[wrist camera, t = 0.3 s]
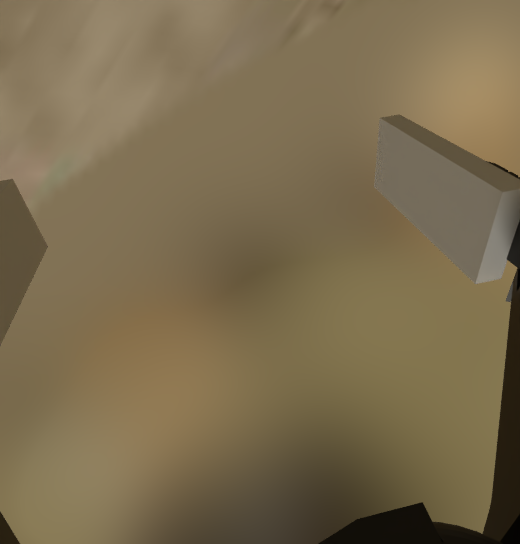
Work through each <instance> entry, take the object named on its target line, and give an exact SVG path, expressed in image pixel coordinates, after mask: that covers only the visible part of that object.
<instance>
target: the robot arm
mask: <svg viewBox="0 0 520 544" xmlns="http://www.w3.org/2000/svg"><path fill="white" fill-rule="evenodd" d="M374 187H375V188H376V189H377V190H378V191H379V192H380V193H381V194H382V195H383V196H384V197H385V198H386V199H387V200H388V201H389V202H390V203H392V204H393V205H394V206H395V207H396V208H397V209H398V210H399V211H400V212H401V213H402V214H403V215H404V216H405V217H406V218H407V219H409V221H410V222H411V223H412V224H413V225H415V227H416V228H418V229H419V230H420V231H421V232H422V233H423V234H424V235H425V236H426V237H427V238H428V239H429V240H430V241H431V242H432V243H433V244H434V245H435V246H436V247H438V249H440V251H442V252H443V253H444V254H445V255H446V256H447V257H448V258H449V259H450V260H451V261H452V262H453V263H454V264H455V265H456V266H457V267H458V268H459V269H460V270H461V271H462V272H463V273H464V274H465V275H466V276H467V277H469V278H470V279H471V280H472V281H473V282H474V283H475V284H478V283H482V282H487V281H492V280H496V279H501V277H502V274H503V271H504V268H505V265H506V263H507V260H509V261H510V262H511V263H512V264H514V265H515V266H516V267H517V268H518V269H517V272H516V274H515V277H514V279H513V282H512V285H511V288H510V290H509V293H508V296H507V298H506V301H508V302H510V301H511V309H510V319H509V329H508V340H507V350H506V360H505V370H504V380H503V390H502V400H501V412H500V420H499V430H498V442H497V452H496V461H495V471H494V481H493V491H492V500H491V505H490V510H489V513H488V517H487V520H486V524H485V527H484V531H483V534H481V533H479V532H477V531H473V530H470V529H467V528H464V527H461V526H457V525H452V524H446V523H441V522H432V520H431V518H430V516H429V515H428V512H427V510H426V508H425V506H424V504H423V503H418V504H414V505H410V506H407V507H403V508H399V509H395V510H391V511H387V512H383V513H379V514H376V515H372V516H368V517H364V518H360V519H357V520H355V521H354V522H352V523H350V524H349V525H347V526H346V527H344V528H343V529H341V530H339V531H338V532H337V533H335V534H333V535H332V536H330V537H328V538H327V539H325V540H324V541H322V542H320V543H319V544H520V177H519V178H518V175H516V174H514V173H512V172H508V170H506V169H505V168H503V167H501V166H499V165H497V164H495V163H491V162H487V161H484V160H482V159H481V158H479V157H477V156H475V155H473V154H471V153H470V152H468V151H466V150H464V149H462V148H460V147H458V146H457V145H455V144H453V143H451V142H449V141H447V140H446V139H444V138H442V137H440V136H438V135H436V134H434V133H433V132H430V131H429V130H427V129H425V128H423V127H421V126H420V125H418V124H416V123H414V122H412V121H410V120H408V119H406V118H405V117H403V116H401V115H394V116H389V117H382V118H380V122H379V135H378V147H377V160H376V172H375V185H374ZM47 247H48V246H47V244H46V242H45V240H44V238H43V236H42V234H41V233H40V230H39V229H38V227H37V225H36V223H35V221H34V219H33V217H32V215H31V213H30V211H29V209H28V207H27V205H26V204H25V202H24V200H23V198H22V196H21V194H20V192H19V190H18V188H17V186H16V184H15V182H14V180H13V179H10V180H4V181H0V345H1V343H2V341H3V339H4V337H5V335H6V333H7V330H8V329H9V327H10V324H11V322H12V320H13V318H14V316H15V314H16V312H17V310H18V308H19V305H20V304H21V301H22V299H23V297H24V295H25V293H26V291H27V289H28V287H29V285H30V283H31V281H32V278H33V277H34V274H35V272H36V270H37V268H38V266H39V264H40V262H41V260H42V258H43V256H44V253H45V252H46V249H47ZM0 544H20V543H19V541H18V540H17V538H16V537H15V535H14V533H13V532H12V530H11V528H10V527H9V525H8V523H7V522H6V520H5V518H4V517H3V515H2V514H1V512H0Z"/></svg>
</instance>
